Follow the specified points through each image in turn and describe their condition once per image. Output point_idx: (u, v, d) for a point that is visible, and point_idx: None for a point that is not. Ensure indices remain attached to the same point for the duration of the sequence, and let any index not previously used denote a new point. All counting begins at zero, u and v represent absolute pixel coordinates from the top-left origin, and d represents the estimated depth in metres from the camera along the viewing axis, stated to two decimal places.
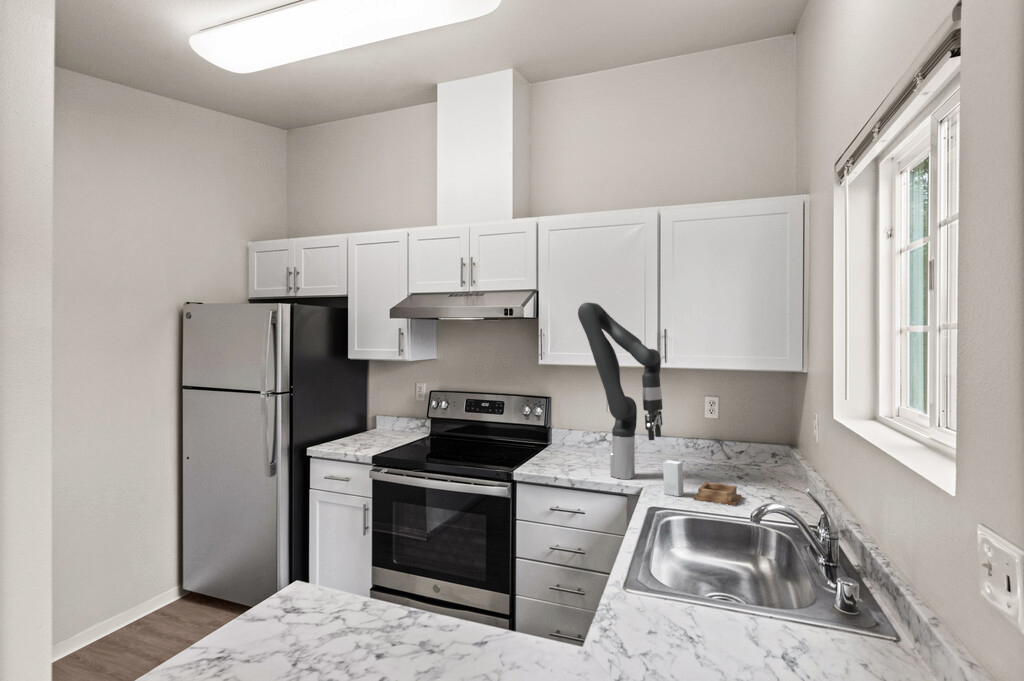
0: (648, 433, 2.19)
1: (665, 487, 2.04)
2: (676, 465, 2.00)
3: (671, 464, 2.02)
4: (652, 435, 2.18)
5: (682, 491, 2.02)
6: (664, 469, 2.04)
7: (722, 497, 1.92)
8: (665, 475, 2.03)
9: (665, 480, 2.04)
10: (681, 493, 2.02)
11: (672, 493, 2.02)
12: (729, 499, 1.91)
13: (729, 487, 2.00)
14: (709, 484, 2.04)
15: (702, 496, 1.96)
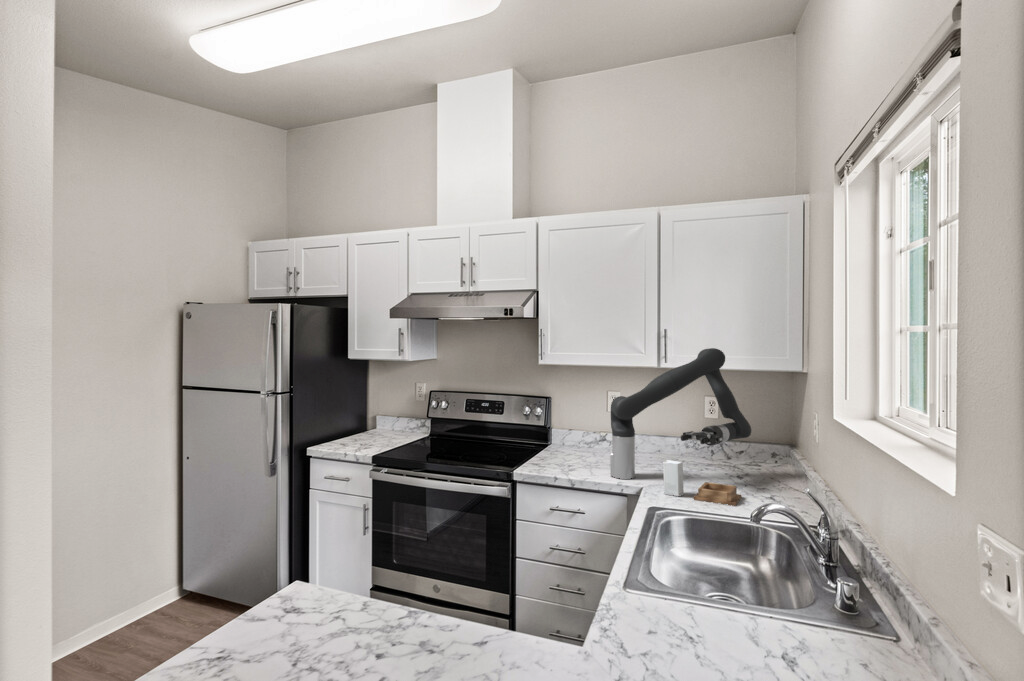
0: (705, 437, 2.08)
1: (665, 487, 2.04)
2: (676, 465, 2.00)
3: (671, 464, 2.02)
4: (705, 442, 2.08)
5: (682, 491, 2.02)
6: (664, 469, 2.04)
7: (722, 497, 1.92)
8: (665, 475, 2.03)
9: (665, 480, 2.04)
10: (681, 493, 2.02)
11: (672, 493, 2.02)
12: (729, 499, 1.91)
13: (729, 487, 2.00)
14: (709, 484, 2.04)
15: (702, 496, 1.96)
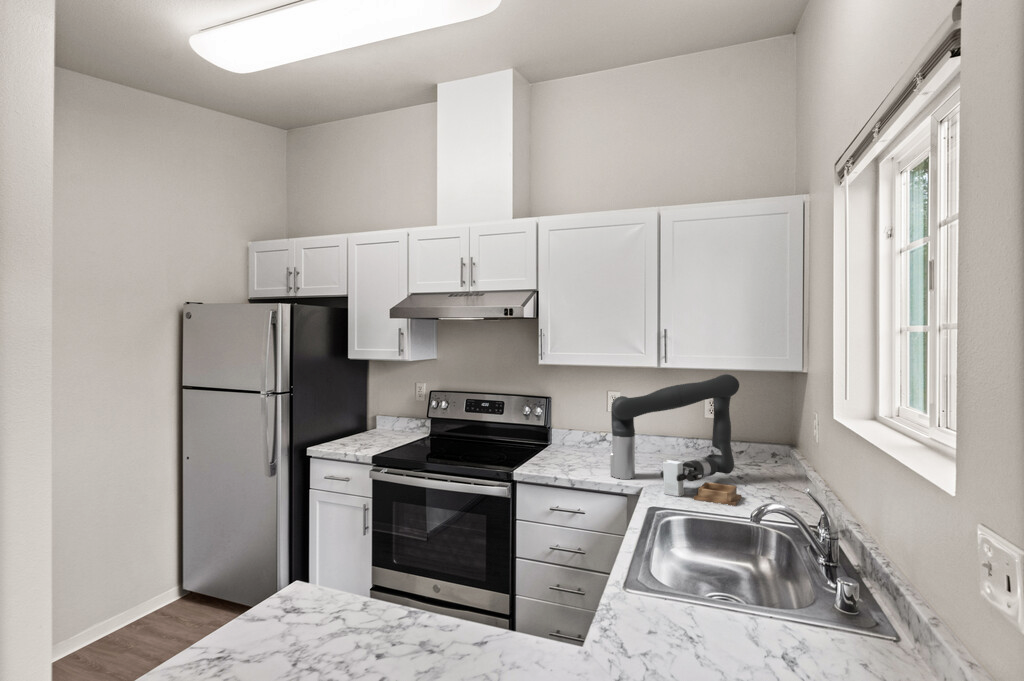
0: (682, 474, 2.01)
1: (665, 487, 2.04)
2: (676, 465, 2.00)
3: (671, 464, 2.02)
4: (682, 479, 2.00)
5: (682, 491, 2.02)
6: (664, 469, 2.04)
7: (722, 497, 1.92)
8: (665, 475, 2.03)
9: (665, 480, 2.04)
10: (681, 493, 2.02)
11: (672, 493, 2.02)
12: (729, 499, 1.91)
13: (729, 487, 2.00)
14: (709, 484, 2.04)
15: (702, 496, 1.96)
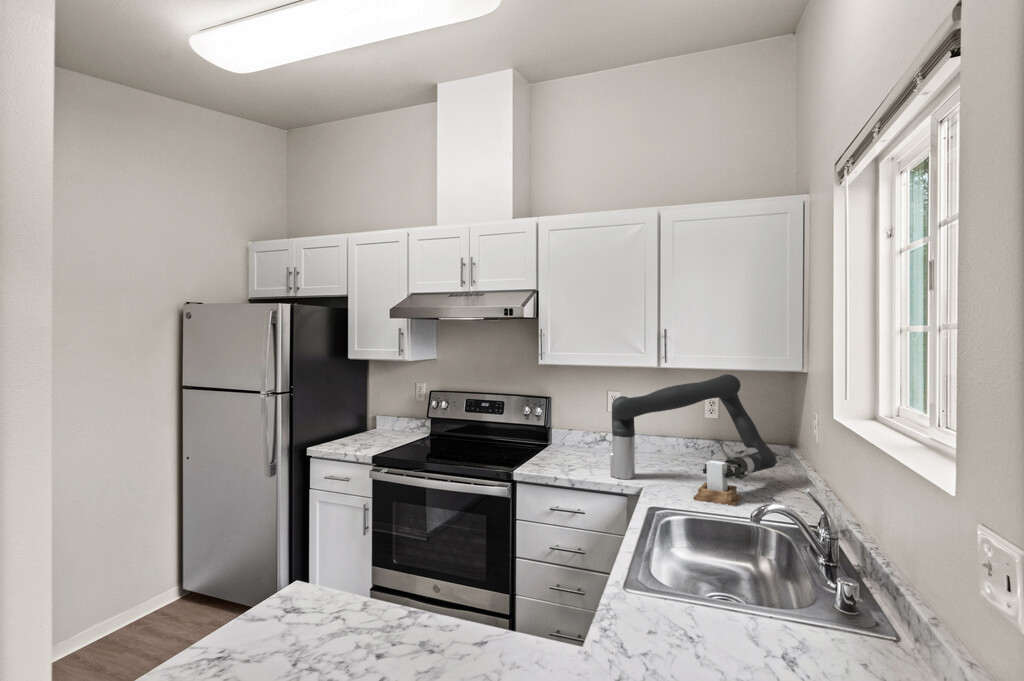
0: (730, 471, 1.95)
1: (709, 488, 1.98)
2: (720, 465, 1.95)
3: (715, 464, 1.96)
4: (730, 476, 1.94)
5: None
6: (707, 469, 1.99)
7: (722, 497, 1.92)
8: (709, 476, 1.98)
9: (708, 481, 1.98)
10: None
11: None
12: (729, 499, 1.91)
13: (729, 487, 2.00)
14: None
15: (702, 496, 1.96)
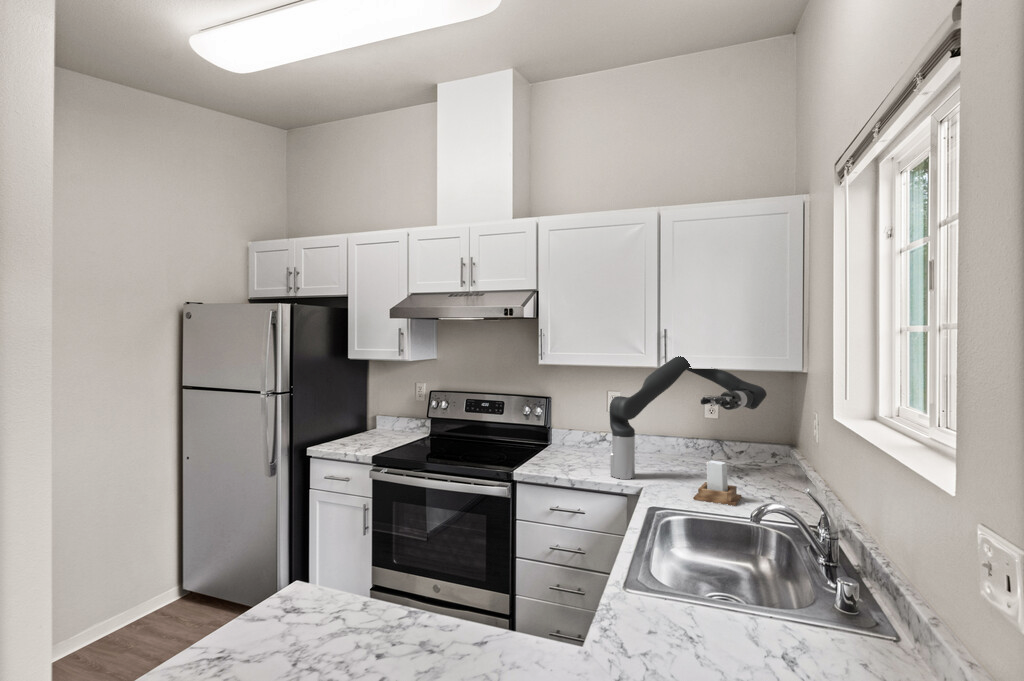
0: (725, 400, 2.17)
1: (709, 488, 1.98)
2: (720, 465, 1.95)
3: (715, 464, 1.96)
4: None
5: None
6: (707, 469, 1.99)
7: (722, 497, 1.92)
8: (709, 476, 1.98)
9: (708, 481, 1.98)
10: None
11: None
12: (729, 499, 1.91)
13: (729, 487, 2.00)
14: None
15: (702, 496, 1.96)
